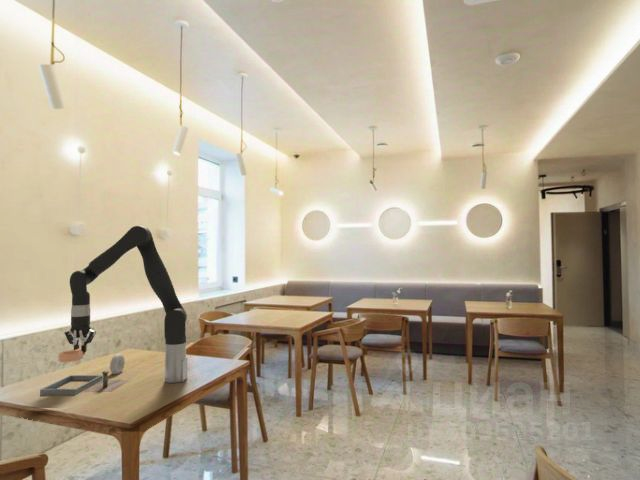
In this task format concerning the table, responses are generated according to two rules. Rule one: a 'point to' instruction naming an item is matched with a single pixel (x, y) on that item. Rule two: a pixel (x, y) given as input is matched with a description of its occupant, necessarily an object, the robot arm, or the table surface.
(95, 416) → the table surface
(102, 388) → the panel
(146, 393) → the table surface
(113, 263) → the robot arm
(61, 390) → the tray
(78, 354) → the ring
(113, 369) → the donut
